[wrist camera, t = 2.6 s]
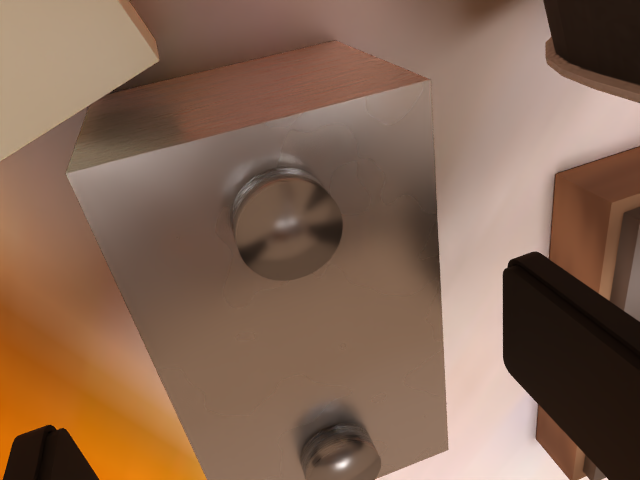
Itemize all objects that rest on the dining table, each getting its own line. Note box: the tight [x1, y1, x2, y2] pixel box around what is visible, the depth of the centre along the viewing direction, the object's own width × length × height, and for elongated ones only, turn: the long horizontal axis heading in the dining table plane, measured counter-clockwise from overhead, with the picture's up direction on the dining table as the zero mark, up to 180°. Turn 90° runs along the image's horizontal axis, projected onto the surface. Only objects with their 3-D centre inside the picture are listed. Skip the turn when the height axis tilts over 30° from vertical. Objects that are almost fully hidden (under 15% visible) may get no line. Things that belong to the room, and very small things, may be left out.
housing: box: [66, 40, 448, 480], centre depth 13 cm, size 10×6×6 cm, turn 9°
